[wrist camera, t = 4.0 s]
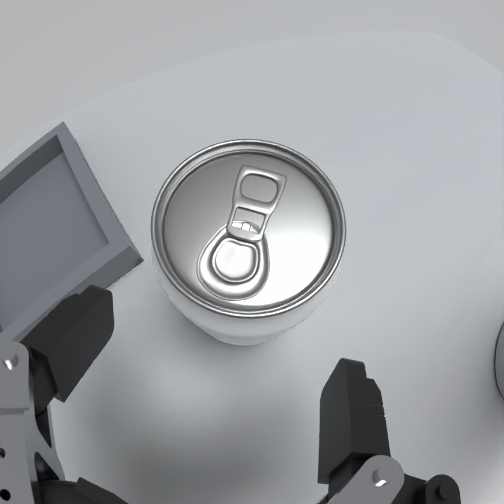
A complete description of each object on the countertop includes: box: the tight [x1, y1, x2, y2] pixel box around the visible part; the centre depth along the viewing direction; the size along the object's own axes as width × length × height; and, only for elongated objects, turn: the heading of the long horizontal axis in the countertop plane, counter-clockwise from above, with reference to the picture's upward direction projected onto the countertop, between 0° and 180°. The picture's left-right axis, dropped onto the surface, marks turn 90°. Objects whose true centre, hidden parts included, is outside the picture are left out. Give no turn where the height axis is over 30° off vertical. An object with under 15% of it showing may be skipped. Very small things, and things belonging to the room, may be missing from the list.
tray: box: [0, 122, 144, 344], centre depth 19 cm, size 14×14×3 cm
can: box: [151, 139, 346, 346], centre depth 14 cm, size 6×6×12 cm
